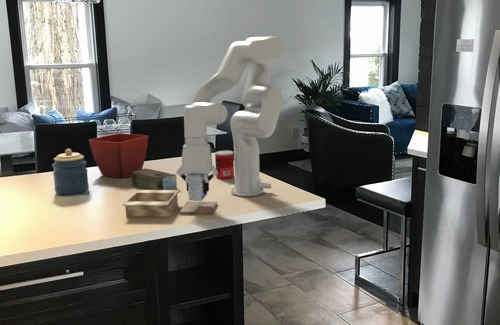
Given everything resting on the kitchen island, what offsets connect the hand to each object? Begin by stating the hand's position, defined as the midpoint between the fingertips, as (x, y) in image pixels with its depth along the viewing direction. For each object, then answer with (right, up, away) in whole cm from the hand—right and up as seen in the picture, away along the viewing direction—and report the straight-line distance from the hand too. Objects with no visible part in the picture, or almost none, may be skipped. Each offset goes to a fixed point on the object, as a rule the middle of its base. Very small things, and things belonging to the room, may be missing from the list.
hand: (197, 192), depth 187 cm
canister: (-53, -2, +28) cm, 60 cm away
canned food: (+7, +4, +47) cm, 48 cm away
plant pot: (-40, +5, +57) cm, 70 cm away
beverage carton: (-21, 0, +33) cm, 39 cm away
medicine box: (0, -2, 0) cm, 2 cm away
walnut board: (0, -6, +1) cm, 6 cm away
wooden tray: (-16, -6, +1) cm, 17 cm away
